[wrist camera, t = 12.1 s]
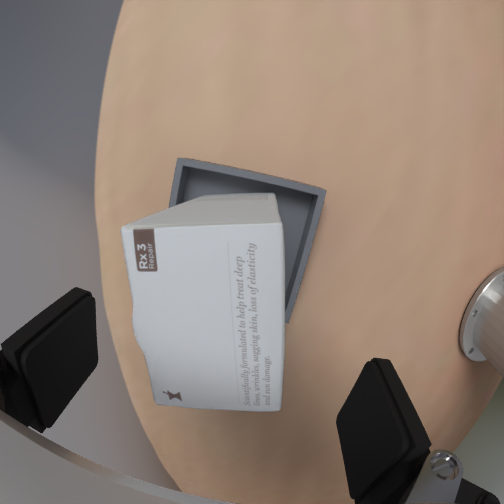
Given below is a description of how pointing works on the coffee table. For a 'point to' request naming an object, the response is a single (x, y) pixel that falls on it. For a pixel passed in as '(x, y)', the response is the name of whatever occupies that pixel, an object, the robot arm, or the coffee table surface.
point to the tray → (245, 181)
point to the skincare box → (211, 301)
